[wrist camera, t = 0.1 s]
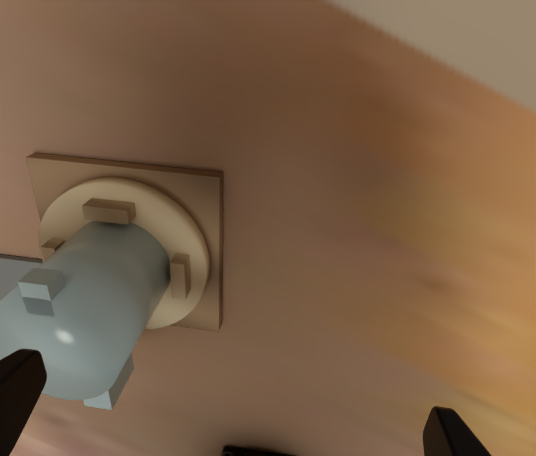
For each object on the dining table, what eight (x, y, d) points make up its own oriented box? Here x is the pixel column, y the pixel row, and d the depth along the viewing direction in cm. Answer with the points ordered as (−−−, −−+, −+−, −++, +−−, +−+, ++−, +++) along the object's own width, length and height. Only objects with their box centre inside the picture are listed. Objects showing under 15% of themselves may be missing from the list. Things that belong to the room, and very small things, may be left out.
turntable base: (221, 323, 28) (218, 331, 27) (68, 303, 29) (61, 310, 28) (222, 172, 22) (219, 177, 22) (34, 152, 23) (25, 157, 23)
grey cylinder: (176, 353, 27) (132, 455, 20) (89, 340, 27) (20, 437, 21) (168, 213, 22) (106, 293, 16) (61, 200, 22) (-40, 274, 16)
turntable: (210, 328, 27) (202, 350, 25) (65, 308, 27) (47, 329, 26) (209, 187, 22) (199, 202, 20) (32, 168, 23) (8, 181, 21)
